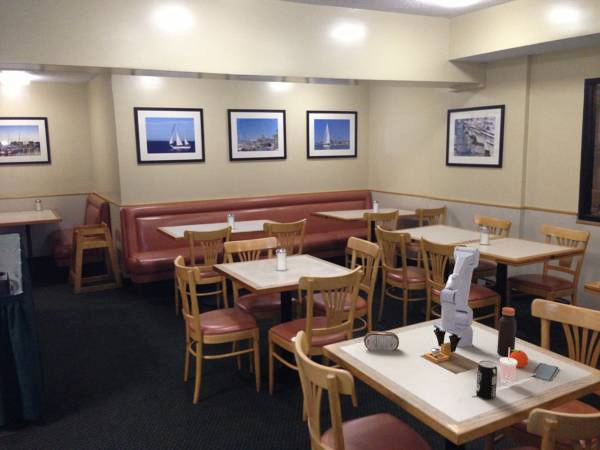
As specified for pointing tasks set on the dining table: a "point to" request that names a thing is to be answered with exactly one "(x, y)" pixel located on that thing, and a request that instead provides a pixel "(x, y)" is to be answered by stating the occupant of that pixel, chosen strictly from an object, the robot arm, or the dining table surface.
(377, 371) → the dining table surface
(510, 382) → the beverage cup
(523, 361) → the clementine
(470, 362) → the plate
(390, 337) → the tin
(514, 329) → the bottle
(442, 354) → the orange square hoop tool
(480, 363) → the beverage can
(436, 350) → the chrome cabinet knob
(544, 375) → the smartphone
